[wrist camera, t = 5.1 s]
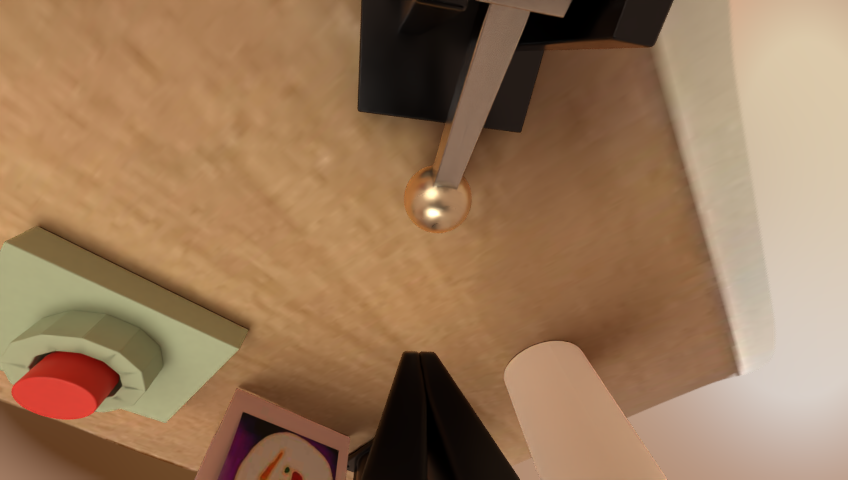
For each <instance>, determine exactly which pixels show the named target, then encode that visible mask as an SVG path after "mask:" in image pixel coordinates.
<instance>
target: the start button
mask: <svg viewBox="0 0 848 480" xmlns="http://www.w3.org/2000/svg"><path fill="white" fill-rule="evenodd" d="M118 382H119V374H118V373H117V372H116V371H114V370H113V369H112V368H111V367H109V366H108V365H107V364H106V363H105V362H103V361H100V360H98V359H95V358H92V357H90V356H87V355H84V354H82V353H74V352H62V351H56V352H53V353H50V354H48V355H47V356H46V357H44V358H43V359H42V360H41V361H40V362H39V363H38V364H36V365H35V366H34V367H33V368H32V369H31V370H30V371H29V372H27V373H26V374H25V375H24V376H23V377H22V378H21V379H20V380H18V381H17V382H16V383H15V384H14V386H13V388H12V396H13V398H14V399H15V400H16V402H17V403H19V404H20V405H21V406H22V407H24V408H26V409H27V410H29V411H31V412H34V413H36V414H39V415H42V416H46V417H50V418H56V419H79V418H83V417H86V416H89V415H90V414H92V413H94V412H95V411H96V409H97V408H98V407H99V406H100V405H101V403H102V402H103V401H104V400H105V398H106V397H107V396H108V395H109V393H110V392H111V391H112V390H113V389H114V387H115V386H116V385H117V383H118Z"/></svg>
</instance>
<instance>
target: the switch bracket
mask: <svg viewBox="0 0 848 480" xmlns="http://www.w3.org/2000/svg"><path fill="white" fill-rule="evenodd" d="M673 1H674V0H573V2H572V4H571V6H570V8H569V10H568V12H567V14H566V16H565V17H564V18H561V17H556V16H551V15H546V14H541V13H536V12H531V13H530V15H529V18H528V20H527V23H526V25H525V27H524V30H523V32H522V35H521V37H520V39H519V42H518V44H517V47H516V49H515V52H514V54H513V56H512V59H511V61H510V64H509V66H508V68H507V71H506V73H505V76H504V78H503V80H502V83H501V85H500V88H499V90H498V92H497V95H496V97H495V100H494V102H493V105H492V107H491V109H490V112H489V114H488V117H487V119H486V121H485V124H484V126H483V128H488V129H495V130H503V131H510V132H518V133H520V132H521V131H522V127H523V123H524V120H525V116H526V113H527V109H528V106H529V102H530V99H531V95H532V91H533V88H534V84H535V81H536V77H537V74H538V70H539V67H540V63H541V59H542V56H543V52H544V50H578V49H613V48H648V47H652V46H654V44H655V43H656V41H657V38H658V36H659V33H660V31H661V29H662V26H663V24H664V22H665V19H666V17H667V15H668V12H669V10H670V8H671V5H672V3H673ZM479 4H480V1H476V0H361V28H360V56H359V85H358V111H359V112H366V113H374V114H381V115H389V116H396V117H404V118H412V119H419V120H427V121H434V122H442V123H446V120H447V116H448V113H449V109H450V106H451V102H452V99H453V95H454V92H455V88H456V85H457V81H458V77H459V74H460V70H461V67H462V63H463V60H464V56H465V53H466V49H467V46H468V42H469V39H470V35H471V32H472V28H473V25H474V21H475V18H476V14H477V11H478V7H479Z"/></svg>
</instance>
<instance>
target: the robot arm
mask: <svg viewBox="0 0 848 480" xmlns="http://www.w3.org/2000/svg"><path fill="white" fill-rule="evenodd" d="M347 470H349V471H352V472H354V478H353V480H520V479H519V477H518V476H517V474H516V473H515V471H514V470H513V468H512V467H511V465H510V464H509V462H508V461H507V459H506V458H505V456H504V455H503V453H502V452H501V450H500V449H499V447H498V446H497V444H496V443H495V441H494V440H493V438H492V437H491V435H490V434H489V432H488V431H487V429H486V428H485V426H484V425H483V423H482V422H481V420H480V419H479V417H478V416H477V414H476V413H475V411H474V410H473V408H472V407H471V405H470V404H469V402H468V401H467V399H466V398H465V396H464V395H463V394H462V392H461V391H460V389H459V388H458V386H457V385H456V383H455V382H454V380H453V379H452V377H451V376H450V374H449V373H448V371H447V370H446V368H445V367H444V365H443V364H442V362H441V361H440V359H439V358H438V356H437V355H436V354H435V353H434V352H420V353H418V352H415V351H405V352H403V354H402V357H401V360H400V363H399V366H398V369H397V372H396V375H395V378H394V381H393V384H392V387H391V390H390V393H389V396H388V399H387V402H386V405H385V408H384V411H383V414H382V417H381V420H380V423H379V426H378V429H377V432H376V435H375V438H374V439H373V440H372V441H370V442H369V443H368V444H366V445H365V446H363V447H362V448H360V449H359V450H358V451H356V452H355V453H353V454H352V455H350V456H349V457H348V462H347Z"/></svg>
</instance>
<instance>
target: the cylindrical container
mask: <svg viewBox="0 0 848 480" xmlns="http://www.w3.org/2000/svg"><path fill="white" fill-rule="evenodd" d="M504 382H505V385H506V387H507V390H508V393H509V396H510V398H511V401H512V404H513V407H514V409H515V412H516V415H517V418H518V420H519V423H520V426H521V429H522V431H523V434H524V437H525V440H526V442H527V445H528V448H529V451H530V453H531V456H532V459H533V462H534V464H535V467H536V470H537V472H538V475H539V478H540V480H667V478H666V477H665V475H664V474H663V472H662V471H661V469H660V468H659V466H658V465H657V463H656V462H655V460H654V459H653V457H652V456H651V454H650V453H649V451H648V450H647V448H646V447H645V445H644V444H643V442H642V441H641V439H640V438H639V436H638V435H637V433H636V432H635V430H634V429H633V427H632V426H631V424H630V423H629V421H628V420H627V418H626V417H625V415H624V414H623V412H622V411H621V409H620V408H619V406H618V405H617V403H616V401H615V400H614V398H613V397H612V395H611V394H610V392H609V391H608V389H607V388H606V386H605V385H604V383H603V382H602V380H601V379H600V377H599V376H598V374H597V373H596V371H595V370H594V368H593V367H592V365H591V364H590V362H589V361H588V359H587V358H586V356H585V355H584V353H583V352H582V350H581V349H580V348H579V347H578V346H576V345H574V344H572V343H570V342H565V341H548V342H543V343H539V344H536V345H534V346H531V347H529V348H527V349H525V350H523V351H522V352H520V353H519V354H518V355H516V356H515V357H514V358H513V359H512V360H511V361H510V363H509V364H508V365H507V367H506V369H505V372H504Z"/></svg>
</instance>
